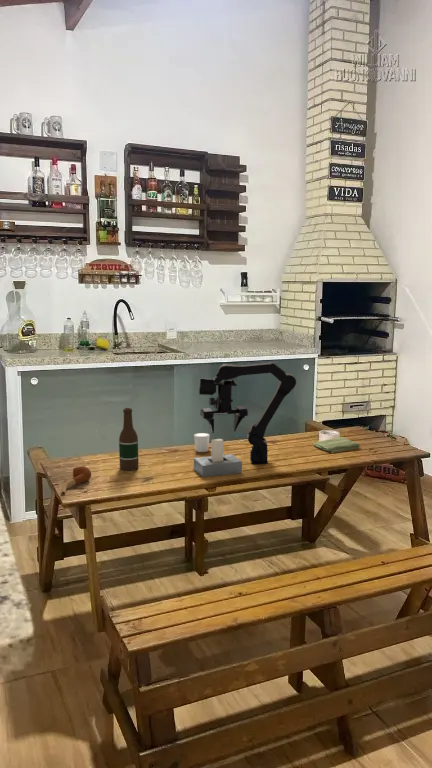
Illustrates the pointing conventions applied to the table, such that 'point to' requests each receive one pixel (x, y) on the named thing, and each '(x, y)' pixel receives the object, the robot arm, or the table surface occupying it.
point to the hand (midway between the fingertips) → (223, 432)
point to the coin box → (217, 466)
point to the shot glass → (201, 442)
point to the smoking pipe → (77, 477)
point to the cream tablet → (217, 450)
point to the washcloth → (337, 445)
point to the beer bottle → (128, 443)
